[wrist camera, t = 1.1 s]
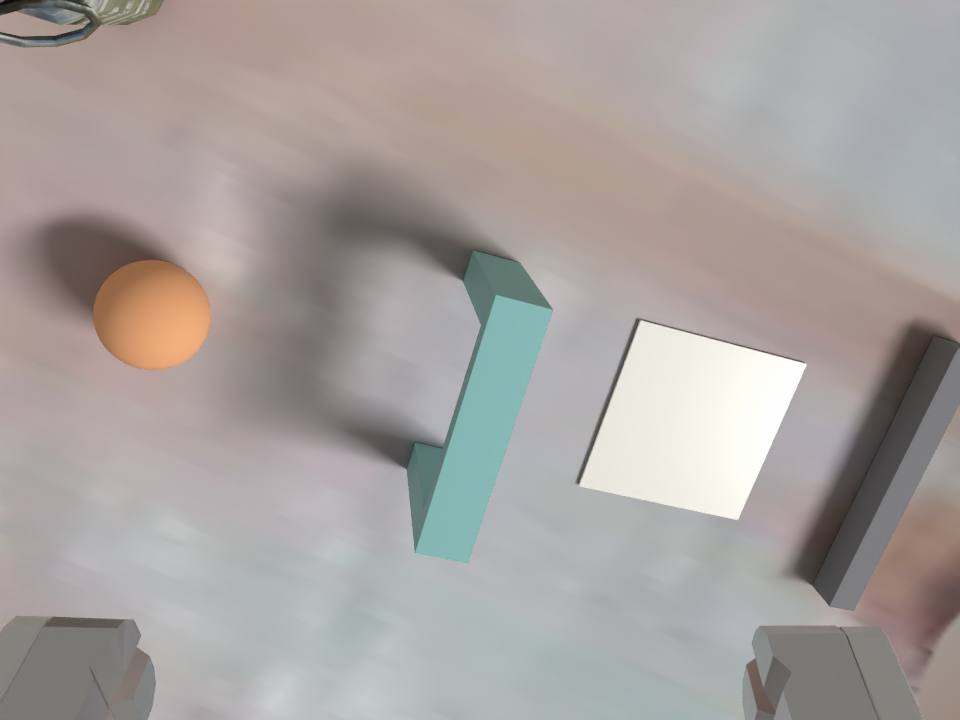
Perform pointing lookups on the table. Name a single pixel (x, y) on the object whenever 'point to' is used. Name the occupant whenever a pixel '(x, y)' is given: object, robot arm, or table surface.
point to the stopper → (892, 476)
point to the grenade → (75, 17)
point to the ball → (151, 314)
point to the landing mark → (690, 421)
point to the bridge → (478, 410)
